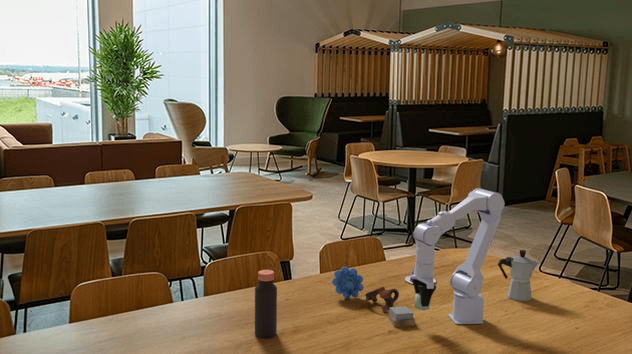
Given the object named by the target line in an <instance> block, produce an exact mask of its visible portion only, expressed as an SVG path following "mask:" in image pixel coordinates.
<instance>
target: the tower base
mask: <svg viewBox="0 0 632 354" xmlns="http://www.w3.org/2000/svg"><path fill="white" fill-rule="evenodd" d="M387 315H388V318H387V319H388V320H389V321H390V323H391V325H392V326H393V327H414V326H416V319H415V318H414V317H413V319H403V320H395V319H394V318H393V317H392V316H391V315H390V313H389V312H388V314H387Z"/></svg>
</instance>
